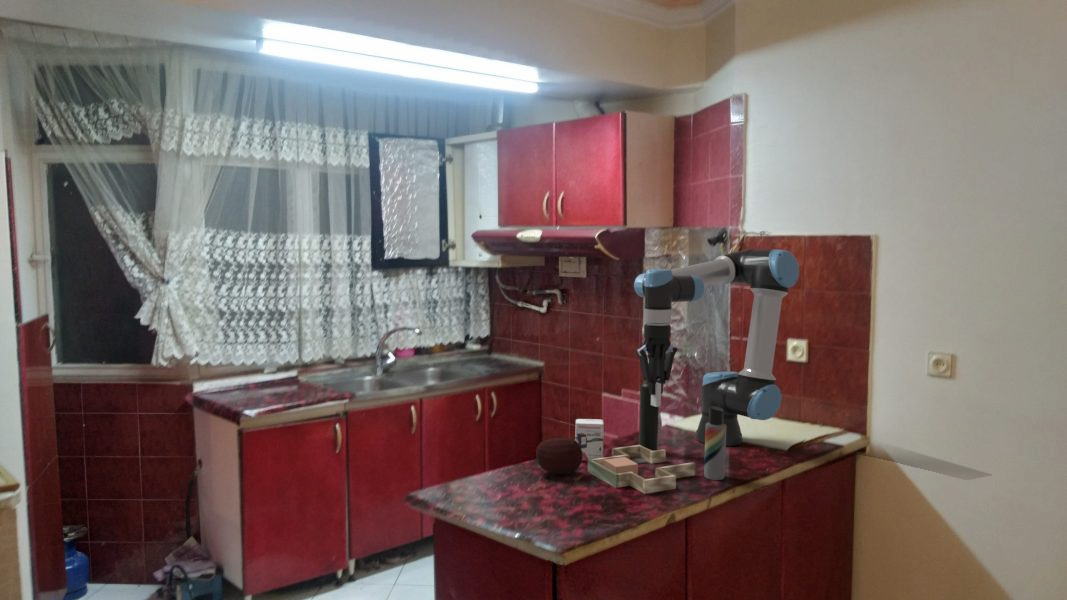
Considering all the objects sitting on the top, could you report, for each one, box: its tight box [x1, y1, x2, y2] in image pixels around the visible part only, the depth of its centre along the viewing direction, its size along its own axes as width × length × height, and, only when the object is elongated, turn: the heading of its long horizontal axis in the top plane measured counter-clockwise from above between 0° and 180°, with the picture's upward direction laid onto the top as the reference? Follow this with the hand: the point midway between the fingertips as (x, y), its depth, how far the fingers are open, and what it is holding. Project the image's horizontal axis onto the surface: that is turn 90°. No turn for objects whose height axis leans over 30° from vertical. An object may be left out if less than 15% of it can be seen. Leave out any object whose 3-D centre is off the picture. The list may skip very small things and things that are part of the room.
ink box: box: [574, 418, 605, 462], centre depth 218 cm, size 8×5×12 cm, turn 86°
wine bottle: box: [638, 359, 660, 451], centre depth 225 cm, size 6×6×30 cm
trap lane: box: [587, 444, 696, 495], centre depth 205 cm, size 26×29×4 cm
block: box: [604, 457, 639, 475], centre depth 202 cm, size 7×7×4 cm
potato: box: [535, 437, 583, 476], centre depth 203 cm, size 11×13×10 cm
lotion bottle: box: [703, 406, 727, 481], centre depth 202 cm, size 6×6×20 cm
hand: (655, 405), depth 206 cm, fingers closed
